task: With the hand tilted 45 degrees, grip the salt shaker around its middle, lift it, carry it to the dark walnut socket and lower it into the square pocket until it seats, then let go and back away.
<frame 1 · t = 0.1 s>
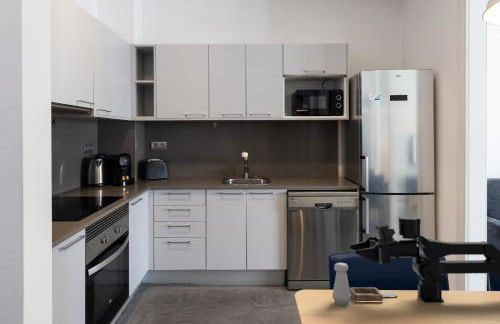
hand: (352, 249, 142), 17 cm above the table, tool horizontal, fingers open, 9 cm apart
grey rectangular slab: (384, 295, 145), on the table
walnut socket: (365, 298, 143), on the table
salt shaker: (341, 304, 137), on the table
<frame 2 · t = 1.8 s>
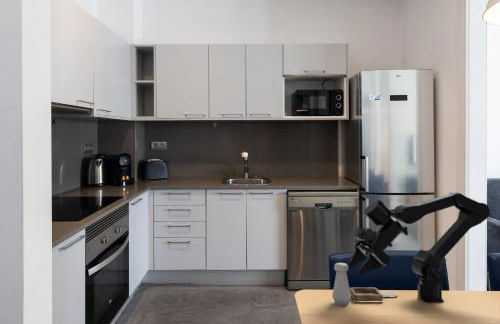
hand: (353, 270, 138), 11 cm above the table, tool tilted 45°, fingers open, 9 cm apart
nothing on the table moved.
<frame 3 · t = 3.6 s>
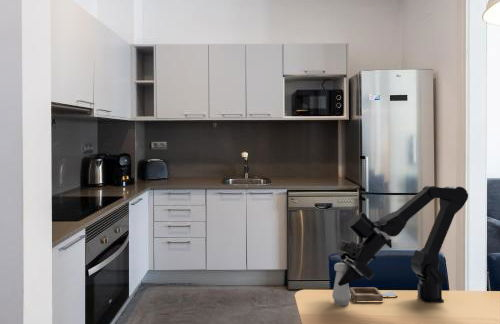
hand: (337, 283, 137), 7 cm above the table, tool tilted 45°, fingers closed on salt shaker, 3 cm apart
salt shaker: (341, 304, 137), on the table, touching gripper
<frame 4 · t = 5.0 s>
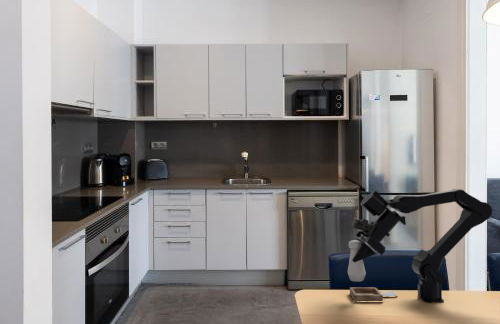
hand: (351, 260, 141), 13 cm above the table, tool tilted 45°, fingers closed on salt shaker, 3 cm apart
salt shaker: (356, 280, 141), point 6 cm above the table, touching gripper
when the fingers open (9 cm above the table, at t = 6.4 s): salt shaker drops 1 cm, resting on walnut socket.
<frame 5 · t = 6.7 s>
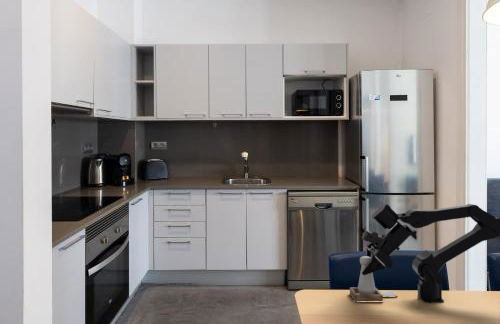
hand: (361, 271, 143), 9 cm above the table, tool tilted 45°, fingers open, 7 cm apart
salt shaker: (366, 296, 143), point 1 cm above the table, touching walnut socket
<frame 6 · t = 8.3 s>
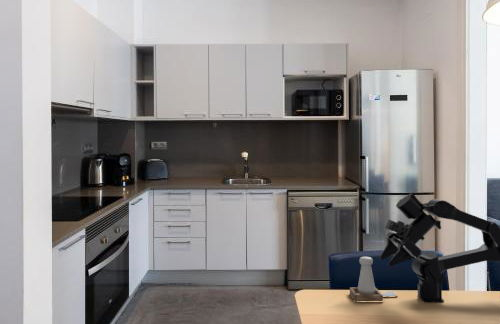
hand: (384, 261, 141), 13 cm above the table, tool tilted 45°, fingers open, 9 cm apart
nothing on the table moved.
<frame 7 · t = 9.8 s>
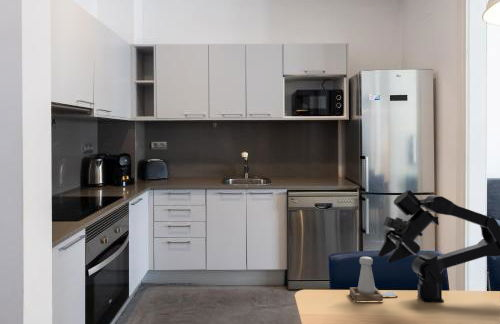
hand: (383, 259, 141), 14 cm above the table, tool tilted 45°, fingers open, 9 cm apart
nothing on the table moved.
at the end: salt shaker 0.3 cm from the walnut socket (horizontally); salt shaker tilted 0°; salt shaker point 0.6 cm above the table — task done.
